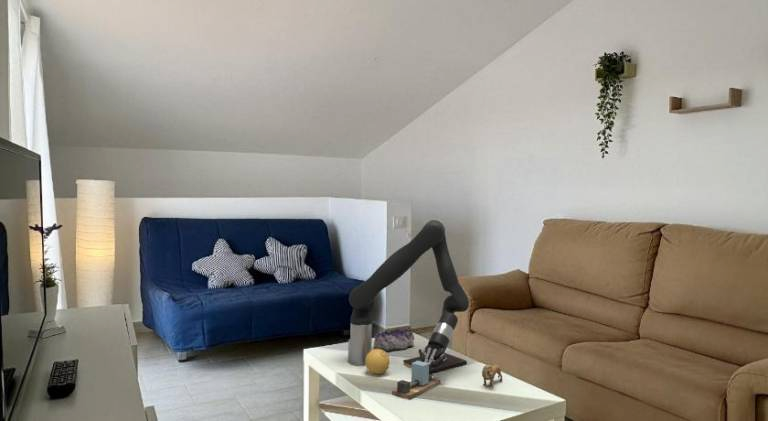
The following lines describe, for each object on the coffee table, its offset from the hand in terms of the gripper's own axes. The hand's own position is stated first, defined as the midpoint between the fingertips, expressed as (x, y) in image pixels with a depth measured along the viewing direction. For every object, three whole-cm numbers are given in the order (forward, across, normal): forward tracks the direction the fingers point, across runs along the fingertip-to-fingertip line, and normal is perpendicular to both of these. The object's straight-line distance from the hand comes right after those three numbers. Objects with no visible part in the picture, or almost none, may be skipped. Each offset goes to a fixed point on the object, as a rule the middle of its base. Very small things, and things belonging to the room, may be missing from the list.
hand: (423, 374), depth 213 cm
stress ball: (+4, -22, +3) cm, 22 cm away
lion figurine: (-10, +20, +17) cm, 28 cm away
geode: (-20, -38, +26) cm, 50 cm away
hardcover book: (-14, -10, +21) cm, 27 cm away
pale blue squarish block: (+3, 0, 0) cm, 3 cm away
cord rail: (+6, 0, 0) cm, 6 cm away
